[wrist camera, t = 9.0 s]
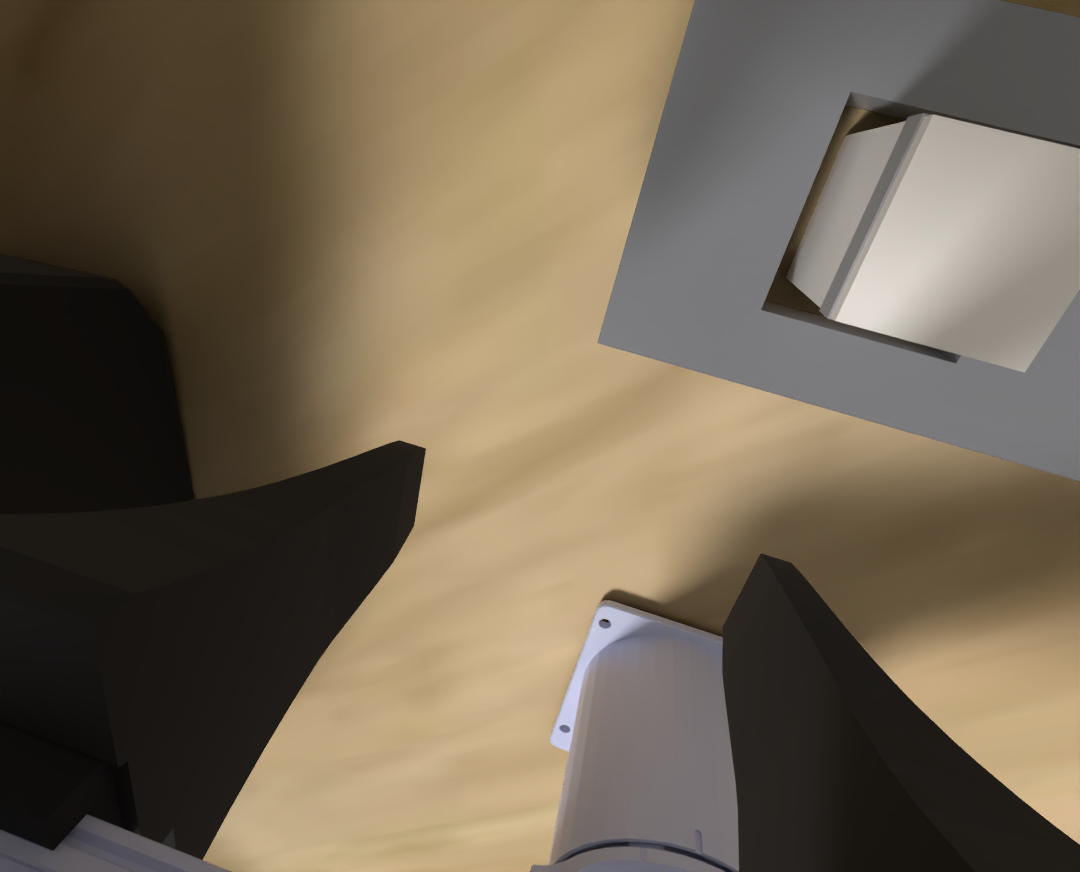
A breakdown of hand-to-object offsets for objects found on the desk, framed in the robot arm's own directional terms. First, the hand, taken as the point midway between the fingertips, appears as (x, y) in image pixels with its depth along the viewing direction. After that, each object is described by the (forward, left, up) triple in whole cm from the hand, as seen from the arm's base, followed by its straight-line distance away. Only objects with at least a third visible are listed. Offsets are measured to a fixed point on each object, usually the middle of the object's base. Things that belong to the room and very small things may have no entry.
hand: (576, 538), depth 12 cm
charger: (+7, -6, -10) cm, 13 cm away
